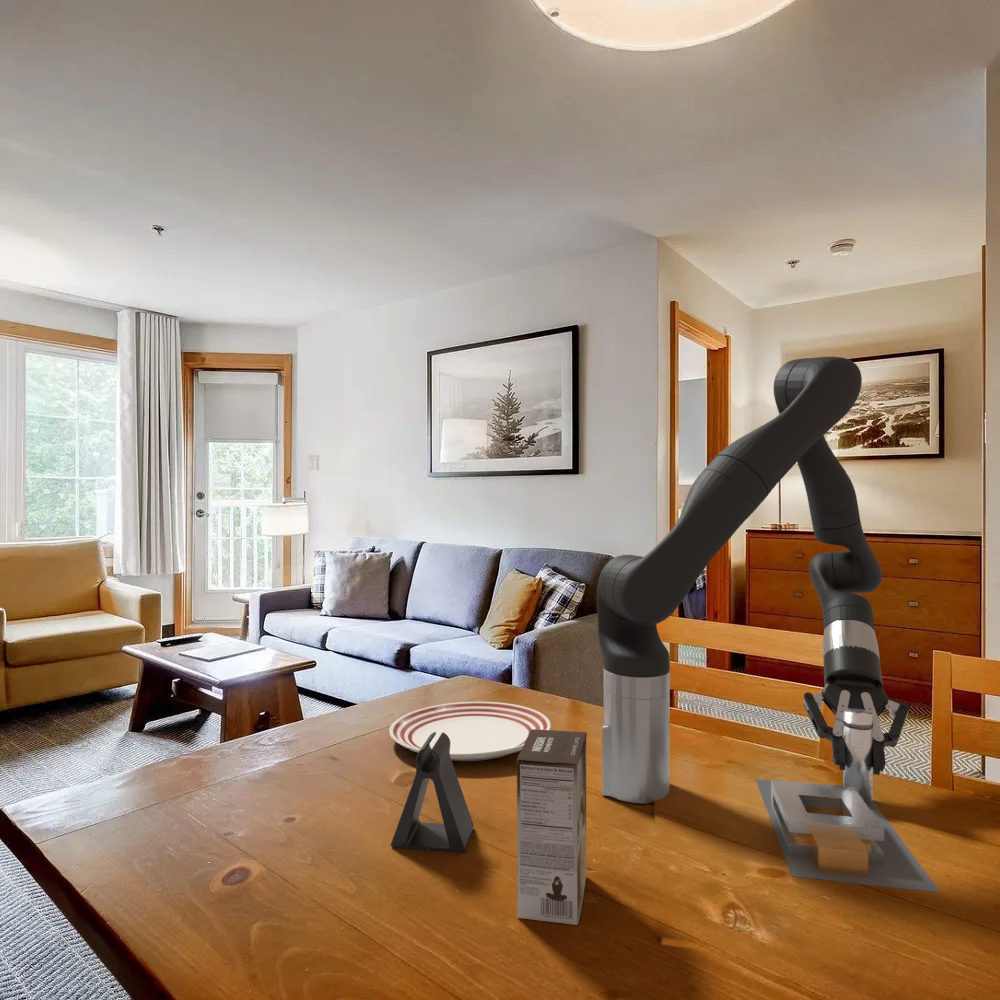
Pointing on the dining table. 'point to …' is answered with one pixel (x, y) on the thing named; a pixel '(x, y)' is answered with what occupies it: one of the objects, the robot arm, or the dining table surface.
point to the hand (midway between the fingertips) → (859, 769)
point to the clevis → (827, 826)
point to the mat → (894, 872)
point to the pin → (858, 751)
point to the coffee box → (551, 826)
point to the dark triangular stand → (450, 801)
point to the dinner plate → (470, 728)
